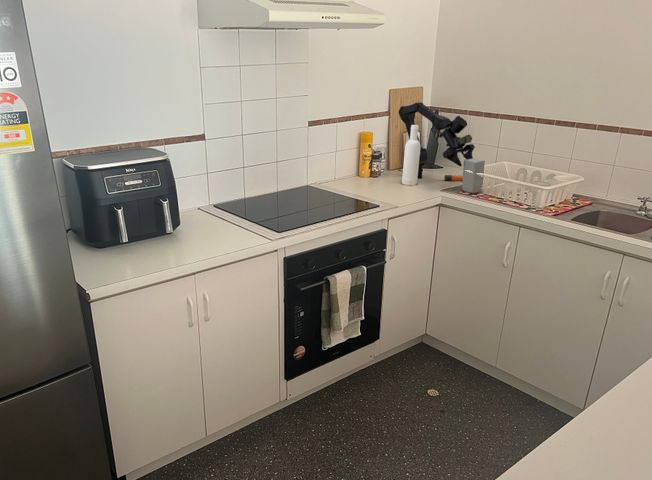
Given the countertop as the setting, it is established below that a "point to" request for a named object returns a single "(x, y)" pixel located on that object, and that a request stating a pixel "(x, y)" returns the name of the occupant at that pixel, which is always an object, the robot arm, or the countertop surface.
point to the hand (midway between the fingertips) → (466, 164)
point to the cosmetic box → (472, 175)
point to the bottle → (411, 158)
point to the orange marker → (453, 178)
